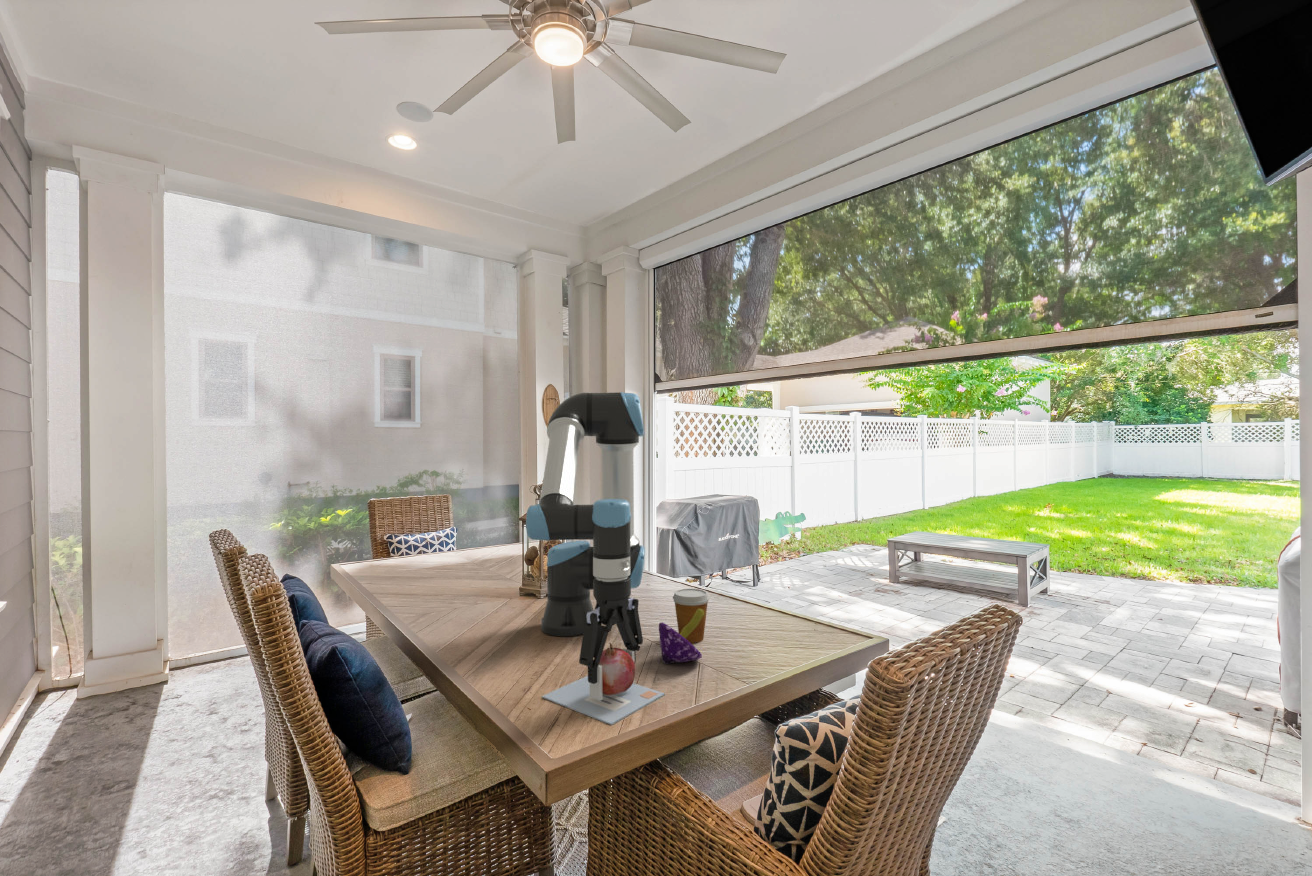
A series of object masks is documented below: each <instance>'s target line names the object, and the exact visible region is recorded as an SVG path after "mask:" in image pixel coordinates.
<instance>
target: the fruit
mask: <svg viewBox="0 0 1312 876" xmlns="http://www.w3.org/2000/svg"><path fill="white" fill-rule="evenodd" d="M599 665H602V694H604V695H607V696H610V695H615V694H619V693H622V692H625V691H627V690H628V689H629V688H630V687H631V685H632V684H633V682H634V678H635V679H636V663H634V661H633V659H632V657H631V656H630V655H629V654H628V653H627V652H625V651H624V650H622V648H619V647H614V646H613V644H612V642H609V647H607V648H604V649H603V652H602V656H601V659H600V663H599Z"/></svg>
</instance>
